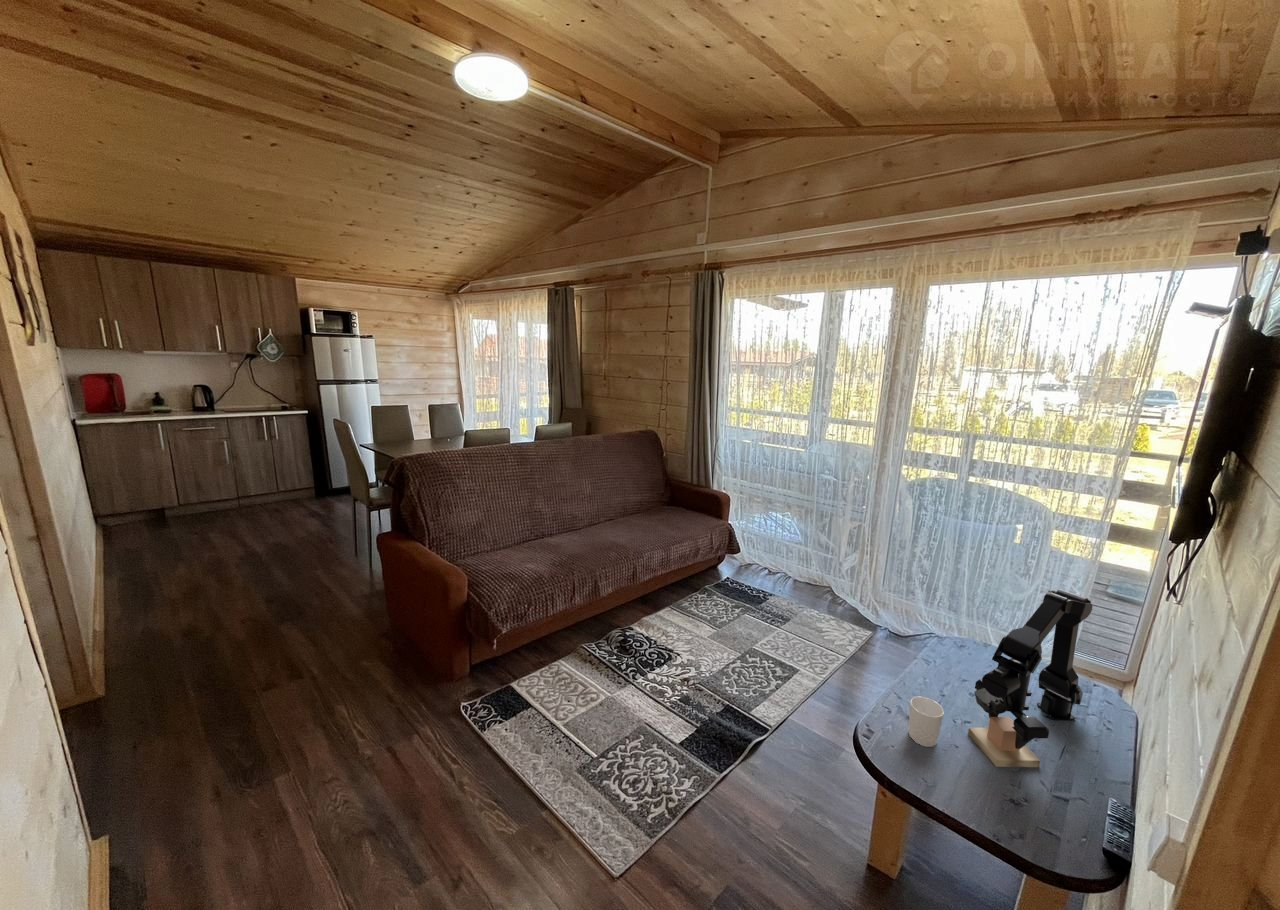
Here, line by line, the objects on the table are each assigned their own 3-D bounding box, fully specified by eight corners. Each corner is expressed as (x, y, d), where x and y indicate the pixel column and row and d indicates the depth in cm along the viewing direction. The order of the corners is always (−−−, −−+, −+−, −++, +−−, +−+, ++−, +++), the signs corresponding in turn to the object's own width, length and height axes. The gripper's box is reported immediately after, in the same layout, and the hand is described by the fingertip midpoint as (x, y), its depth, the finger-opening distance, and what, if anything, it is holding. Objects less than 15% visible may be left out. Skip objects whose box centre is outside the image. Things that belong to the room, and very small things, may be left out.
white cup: (937, 732, 135) (941, 701, 133) (940, 753, 128) (945, 720, 126) (905, 723, 138) (909, 693, 136) (907, 743, 131) (911, 711, 129)
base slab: (1007, 734, 135) (1008, 727, 134) (1038, 767, 124) (1040, 760, 123) (967, 733, 135) (968, 727, 134) (996, 766, 124) (997, 760, 123)
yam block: (1005, 736, 131) (1008, 717, 130) (1019, 750, 126) (1023, 731, 125) (986, 735, 131) (990, 716, 130) (1000, 750, 126) (1003, 731, 125)
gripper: (959, 660, 134) (952, 709, 137) (1009, 708, 116) (999, 763, 119) (999, 660, 134) (991, 709, 137) (1056, 709, 116) (1044, 763, 119)
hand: (1004, 734), depth 128 cm, fingers open, 9 cm apart
